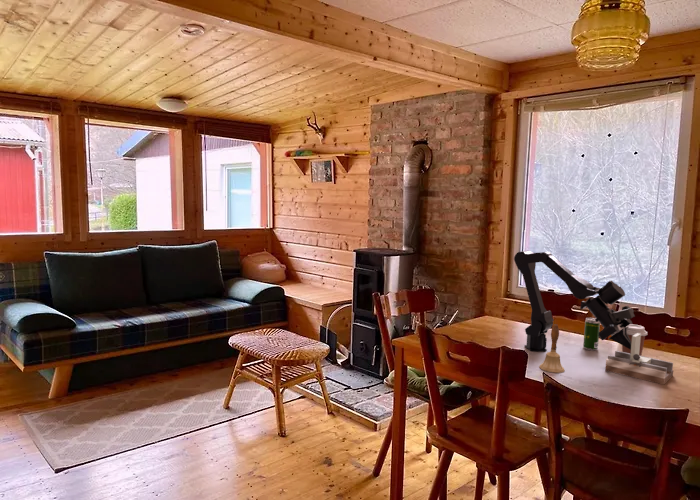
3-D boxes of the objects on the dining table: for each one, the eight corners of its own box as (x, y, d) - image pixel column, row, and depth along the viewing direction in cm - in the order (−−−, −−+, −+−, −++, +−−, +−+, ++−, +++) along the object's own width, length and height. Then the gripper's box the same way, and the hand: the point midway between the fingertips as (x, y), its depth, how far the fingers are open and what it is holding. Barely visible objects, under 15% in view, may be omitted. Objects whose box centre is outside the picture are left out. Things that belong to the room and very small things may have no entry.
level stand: (605, 370, 181) (606, 356, 180) (616, 362, 190) (617, 349, 189) (663, 384, 169) (665, 369, 168) (672, 375, 177) (674, 361, 177)
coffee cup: (616, 352, 203) (618, 322, 202) (642, 355, 200) (645, 324, 199) (620, 359, 194) (622, 327, 193) (647, 362, 191) (650, 330, 190)
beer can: (600, 349, 207) (602, 319, 205) (593, 351, 203) (596, 321, 202) (587, 345, 211) (589, 317, 209) (580, 348, 207) (582, 318, 206)
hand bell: (563, 366, 184) (567, 323, 182) (565, 374, 176) (568, 328, 174) (539, 363, 187) (542, 320, 185) (539, 371, 179) (542, 325, 177)
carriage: (626, 369, 176) (629, 337, 175) (634, 363, 182) (637, 333, 181) (642, 373, 172) (645, 341, 171) (650, 367, 179) (653, 336, 178)
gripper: (611, 302, 175) (644, 341, 169) (628, 295, 188) (659, 331, 182) (585, 320, 181) (616, 359, 175) (603, 313, 195) (633, 348, 188)
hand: (632, 348), depth 180 cm, fingers closed
